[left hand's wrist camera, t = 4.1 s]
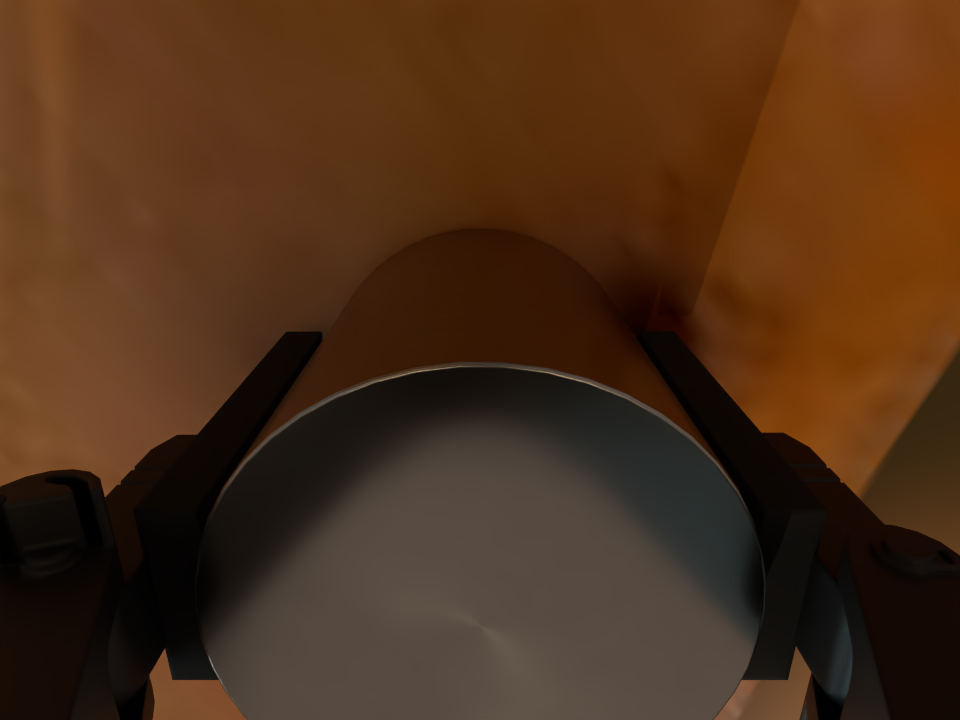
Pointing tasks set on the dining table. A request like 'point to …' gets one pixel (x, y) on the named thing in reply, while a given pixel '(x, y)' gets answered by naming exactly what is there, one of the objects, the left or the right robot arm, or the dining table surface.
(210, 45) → the dining table surface
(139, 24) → the dining table surface
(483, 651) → the can
